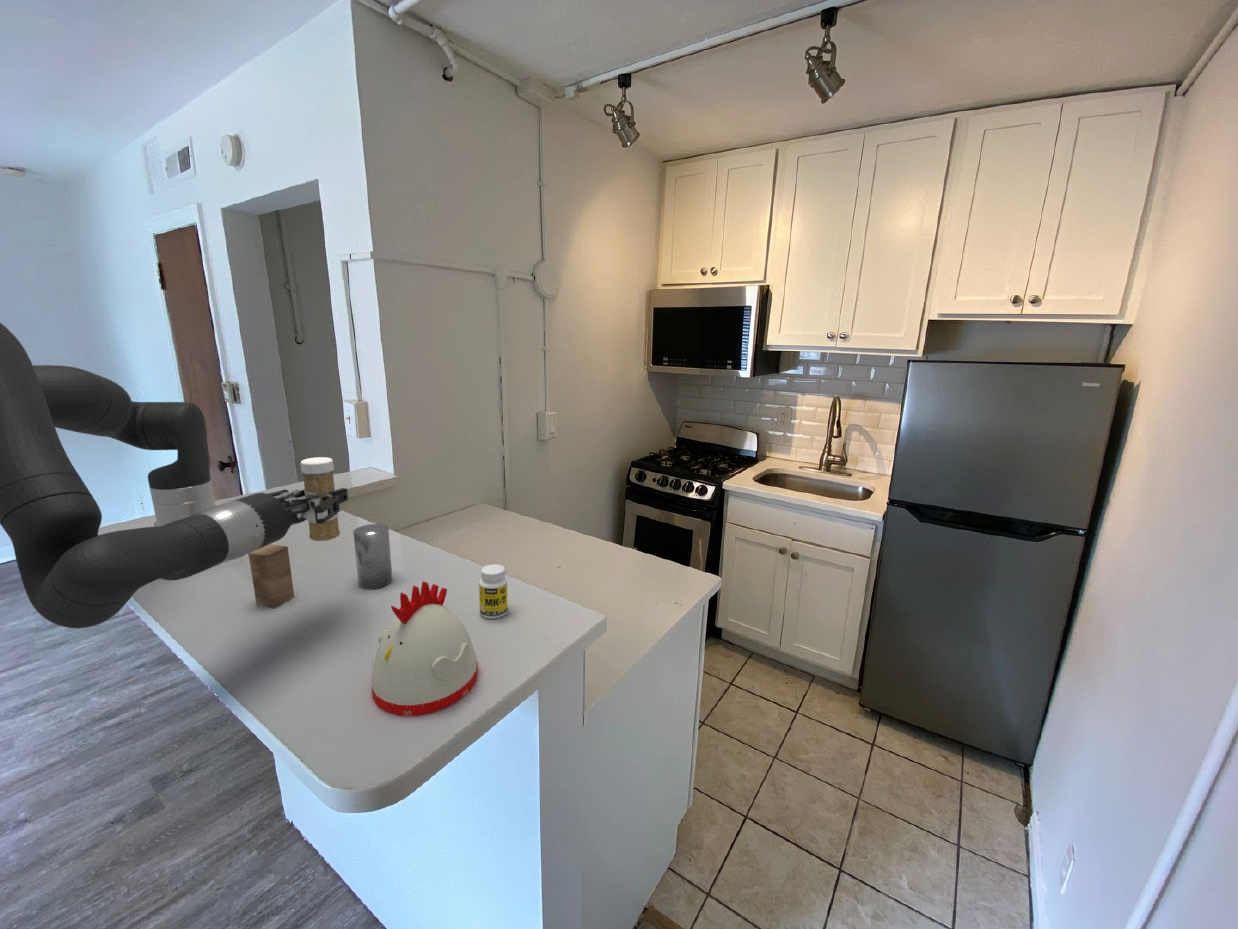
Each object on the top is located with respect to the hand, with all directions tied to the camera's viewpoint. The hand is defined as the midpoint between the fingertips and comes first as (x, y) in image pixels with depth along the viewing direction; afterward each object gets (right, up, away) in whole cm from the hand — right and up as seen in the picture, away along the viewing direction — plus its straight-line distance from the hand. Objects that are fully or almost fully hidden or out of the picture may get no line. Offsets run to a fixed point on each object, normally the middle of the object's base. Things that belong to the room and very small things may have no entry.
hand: (333, 492), depth 85 cm
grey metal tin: (+1, -18, +13) cm, 22 cm away
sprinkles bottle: (-1, -8, -1) cm, 8 cm away
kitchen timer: (+22, -26, -14) cm, 37 cm away
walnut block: (-13, -20, +5) cm, 24 cm away
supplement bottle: (+27, -22, +4) cm, 35 cm away
